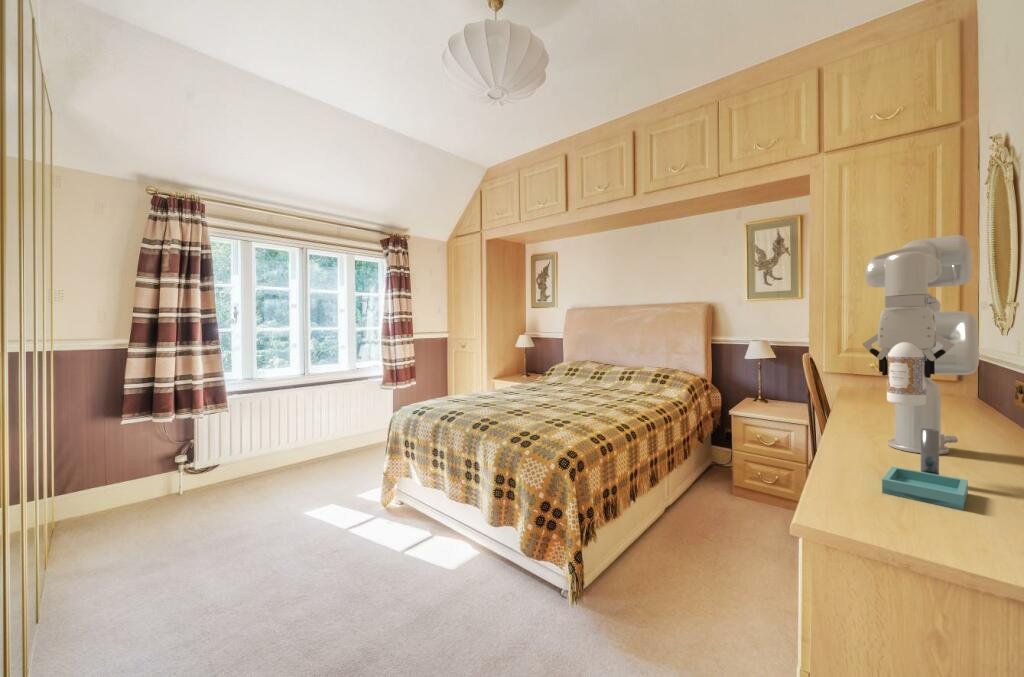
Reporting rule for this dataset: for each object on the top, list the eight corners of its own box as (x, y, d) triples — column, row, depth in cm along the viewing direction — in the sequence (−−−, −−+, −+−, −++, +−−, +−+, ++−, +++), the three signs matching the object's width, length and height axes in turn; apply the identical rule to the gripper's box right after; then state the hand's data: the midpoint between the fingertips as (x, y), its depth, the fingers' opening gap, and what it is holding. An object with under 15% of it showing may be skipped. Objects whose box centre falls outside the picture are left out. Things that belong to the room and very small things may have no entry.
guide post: (930, 477, 97) (930, 427, 97) (952, 485, 92) (952, 432, 92) (908, 477, 98) (908, 427, 97) (929, 485, 93) (929, 433, 92)
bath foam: (880, 402, 102) (880, 322, 102) (897, 400, 105) (897, 322, 104) (915, 406, 96) (915, 321, 95) (933, 404, 98) (933, 321, 98)
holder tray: (892, 478, 97) (892, 466, 97) (967, 493, 88) (967, 480, 88) (882, 492, 89) (882, 479, 89) (963, 510, 80) (963, 495, 80)
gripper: (958, 301, 96) (958, 377, 96) (862, 306, 109) (862, 372, 109) (957, 300, 91) (957, 380, 91) (856, 305, 104) (857, 375, 104)
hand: (905, 375), depth 100 cm, fingers closed on bath foam, 7 cm apart
